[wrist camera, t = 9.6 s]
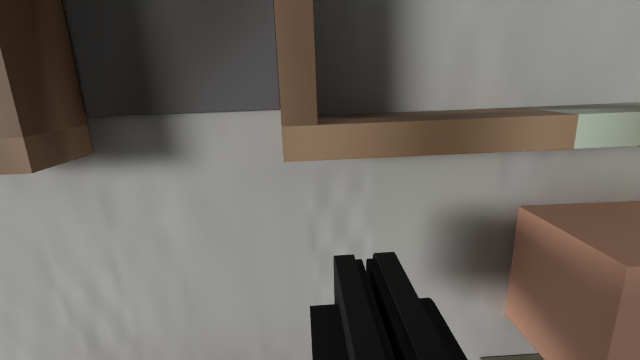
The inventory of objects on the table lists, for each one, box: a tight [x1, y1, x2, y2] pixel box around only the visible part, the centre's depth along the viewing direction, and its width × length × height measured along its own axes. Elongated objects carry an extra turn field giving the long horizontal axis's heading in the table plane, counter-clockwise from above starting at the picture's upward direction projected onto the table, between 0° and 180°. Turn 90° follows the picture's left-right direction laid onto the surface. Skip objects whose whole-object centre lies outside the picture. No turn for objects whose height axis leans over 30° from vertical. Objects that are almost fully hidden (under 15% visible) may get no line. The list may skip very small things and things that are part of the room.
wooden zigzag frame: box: [0, 0, 640, 360], centre depth 13 cm, size 26×26×3 cm
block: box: [505, 201, 640, 360], centre depth 13 cm, size 5×5×5 cm
